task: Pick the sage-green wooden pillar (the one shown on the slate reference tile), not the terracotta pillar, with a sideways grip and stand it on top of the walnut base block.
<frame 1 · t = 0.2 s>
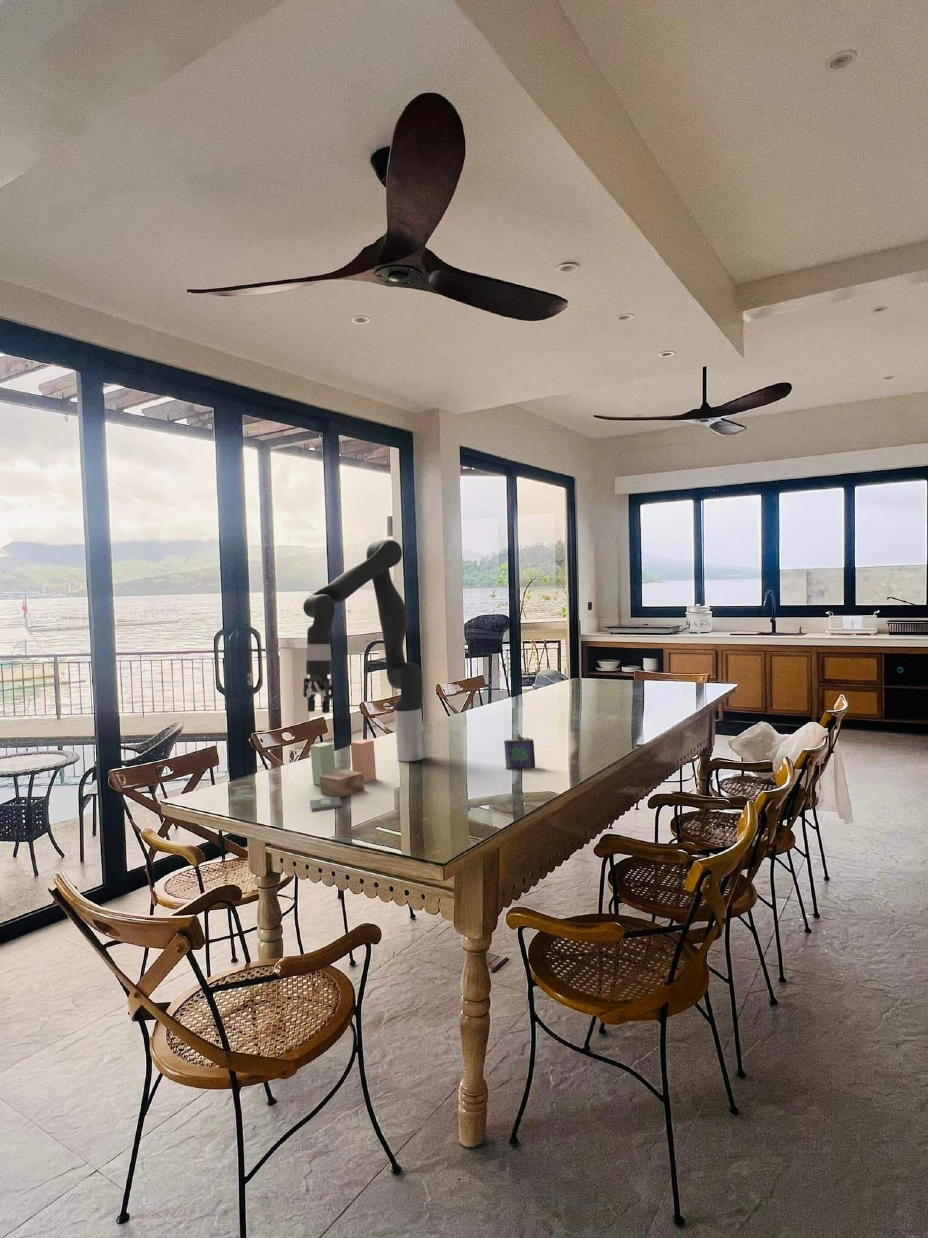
hand: (318, 712, 219), 22 cm above the table, tool pointing down, fingers open, 8 cm apart
reference tile: (325, 805, 196), on the table
sage pillar: (324, 783, 220), on the table
walnut base: (342, 791, 209), on the table
terracotta pillar: (364, 780, 221), on the table
flask: (520, 768, 222), on the table
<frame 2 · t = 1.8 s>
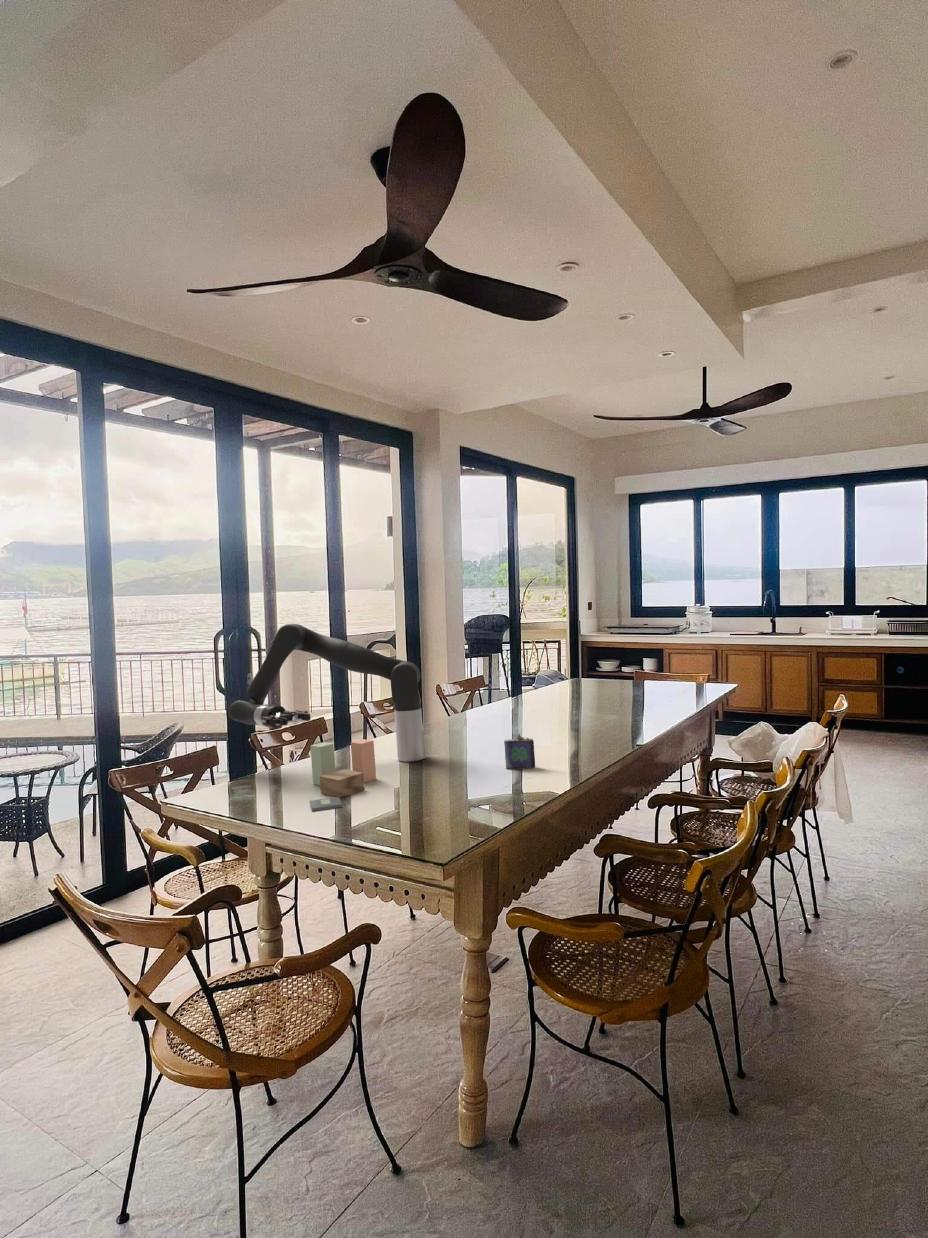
hand: (298, 719, 227), 19 cm above the table, tool horizontal, fingers open, 8 cm apart
nothing on the table moved.
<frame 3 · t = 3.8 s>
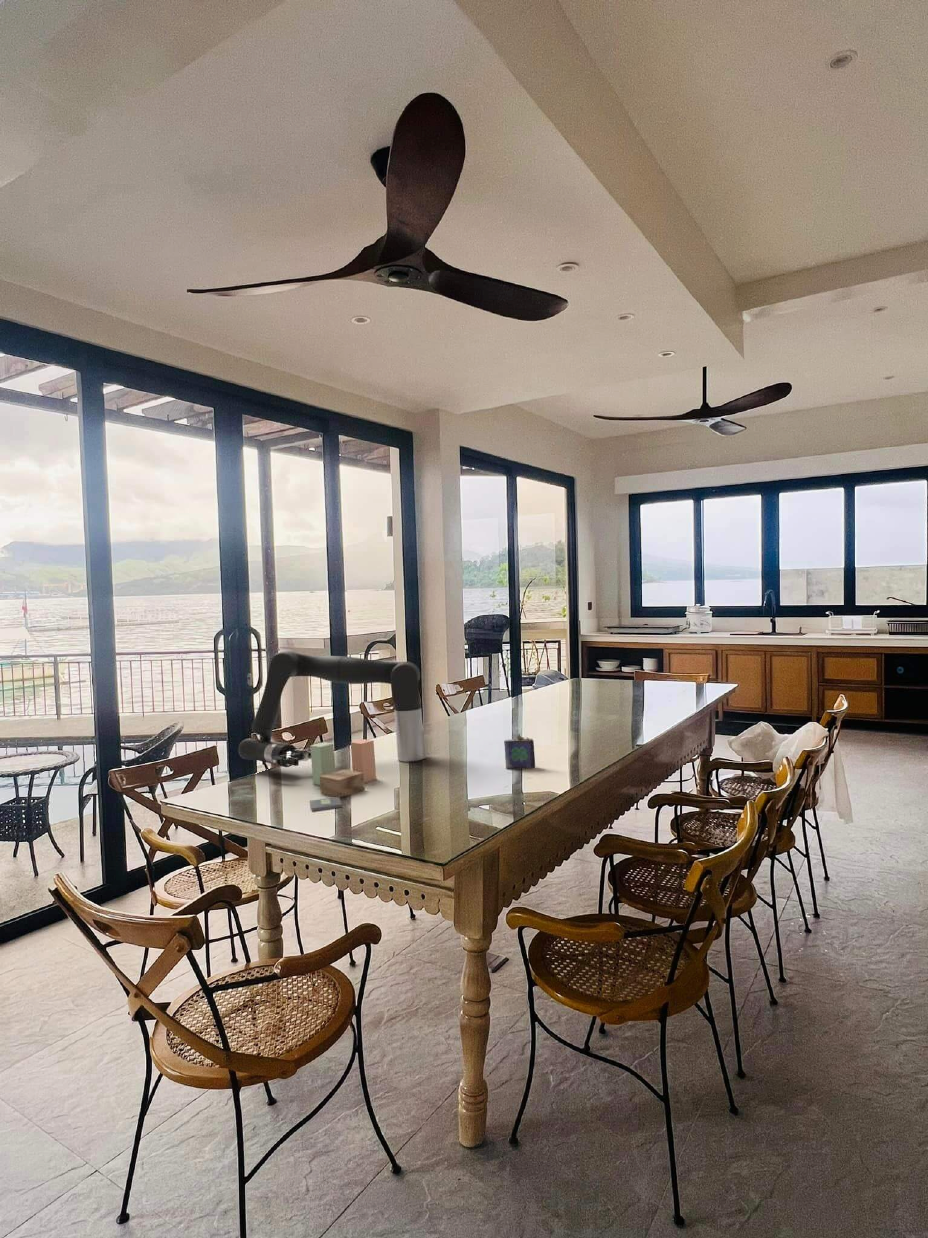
hand: (309, 759, 225), 7 cm above the table, tool horizontal, fingers open, 8 cm apart
nothing on the table moved.
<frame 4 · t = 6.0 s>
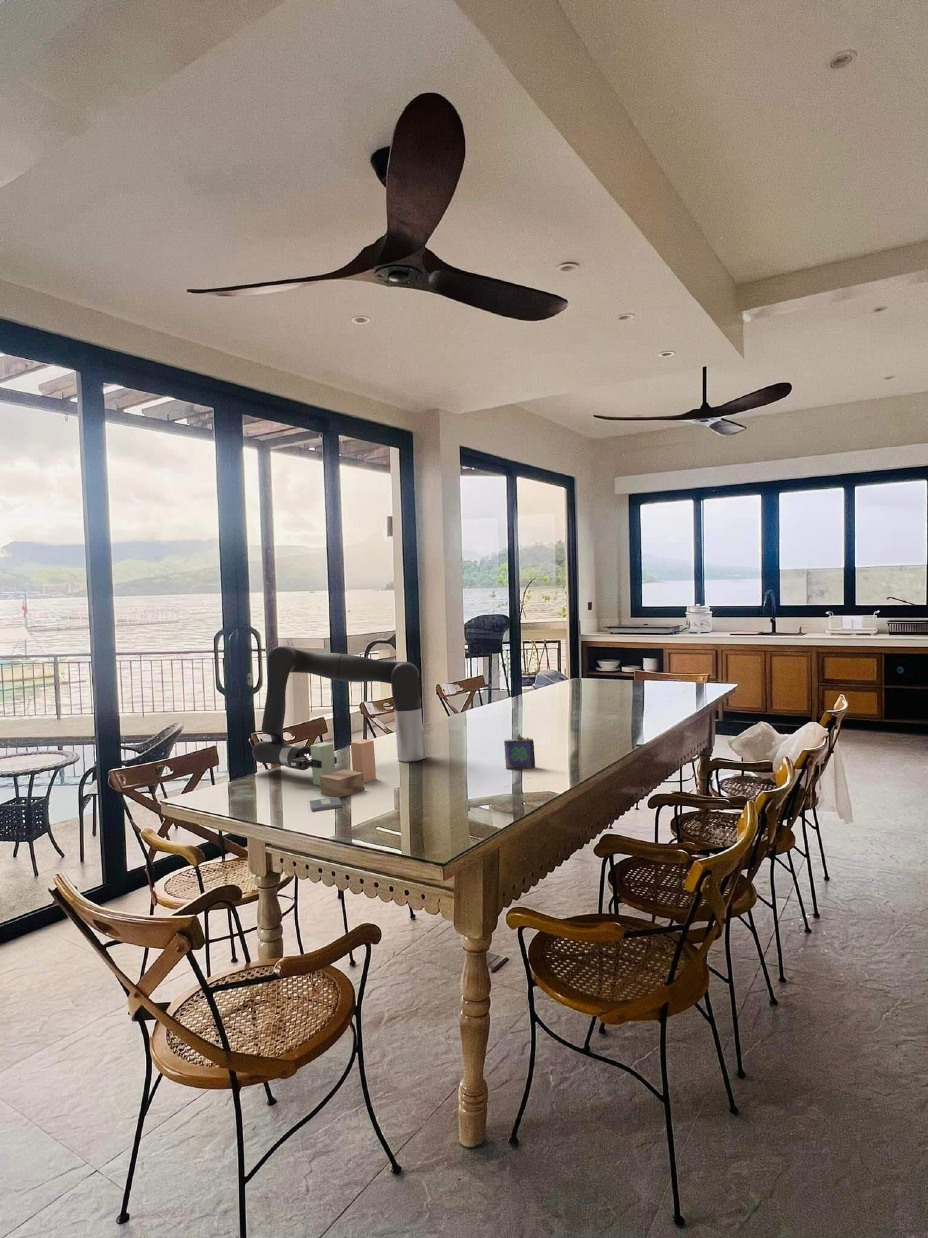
hand: (328, 762, 218), 7 cm above the table, tool horizontal, fingers closed on sage pillar, 5 cm apart
sage pillar: (324, 783, 220), on the table, touching gripper
everything else where it was.
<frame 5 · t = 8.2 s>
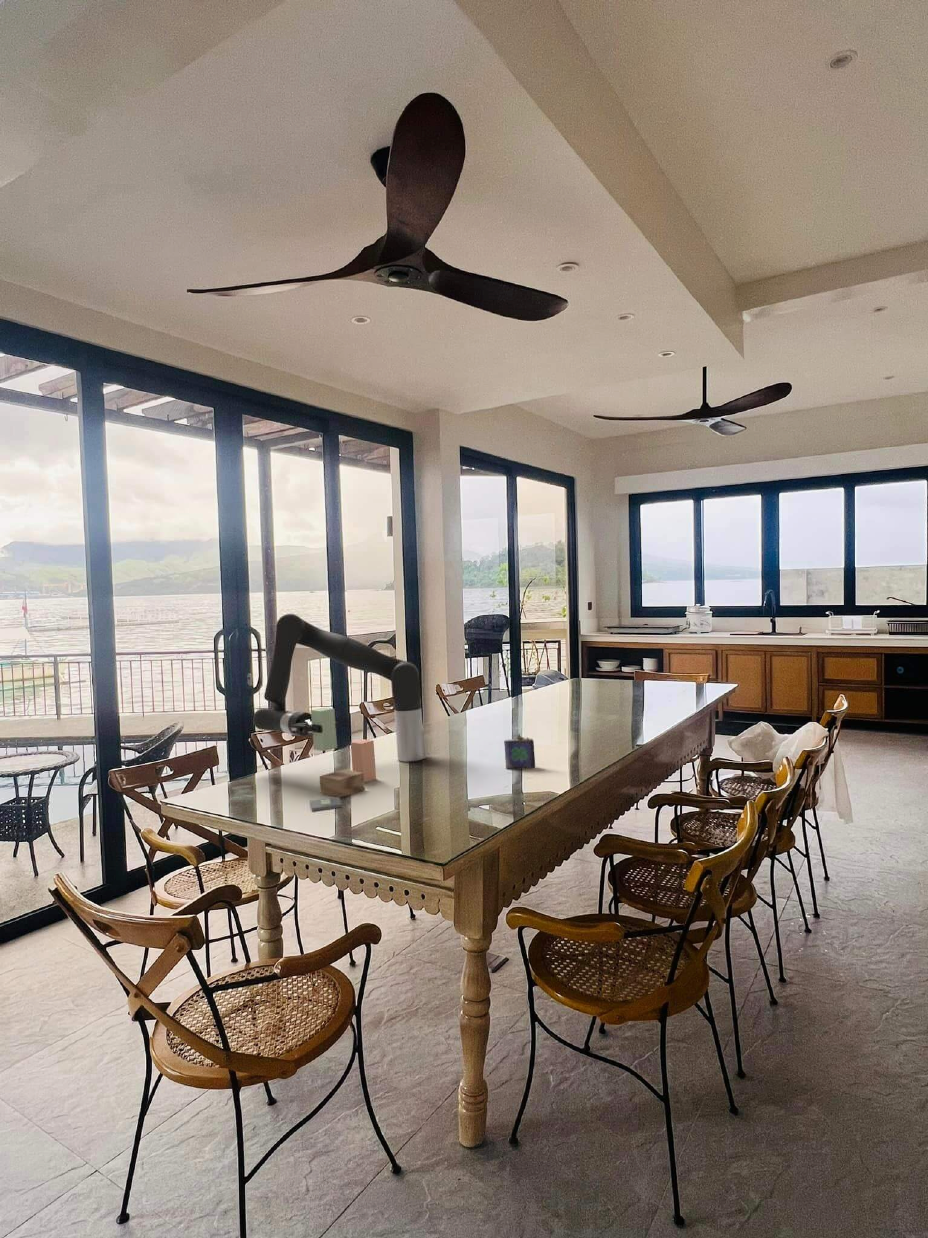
hand: (329, 727, 215), 18 cm above the table, tool horizontal, fingers closed on sage pillar, 5 cm apart
sage pillar: (325, 748, 217), point 11 cm above the table, touching gripper
everything else where it was.
when the fingers open (12 cm above the table, at t = 10.5 s): sage pillar stays where it is, resting on walnut base.
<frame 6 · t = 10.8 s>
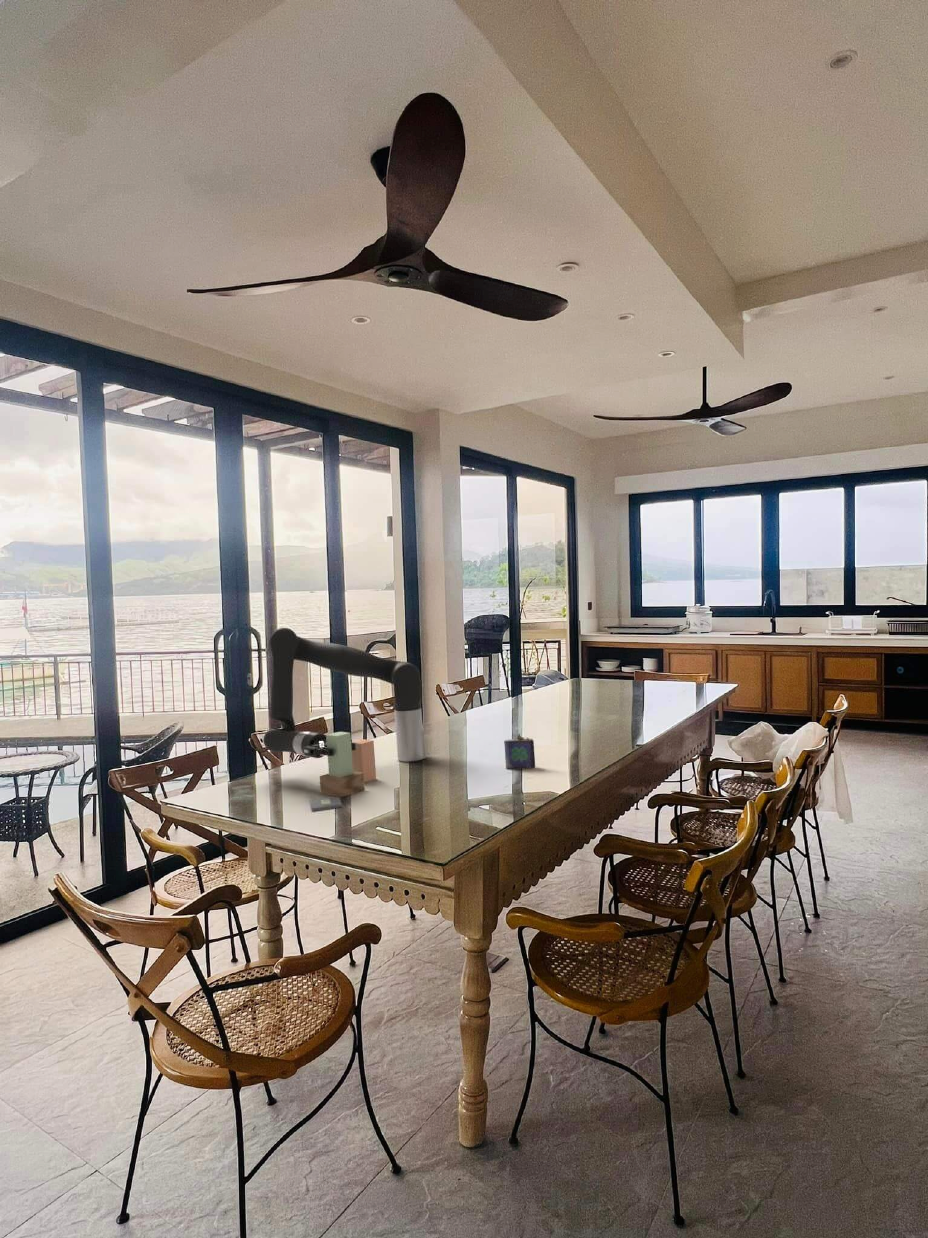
hand: (343, 749, 207), 13 cm above the table, tool horizontal, fingers open, 7 cm apart
sage pillar: (341, 774, 209), point 5 cm above the table, touching walnut base
everything else where it was.
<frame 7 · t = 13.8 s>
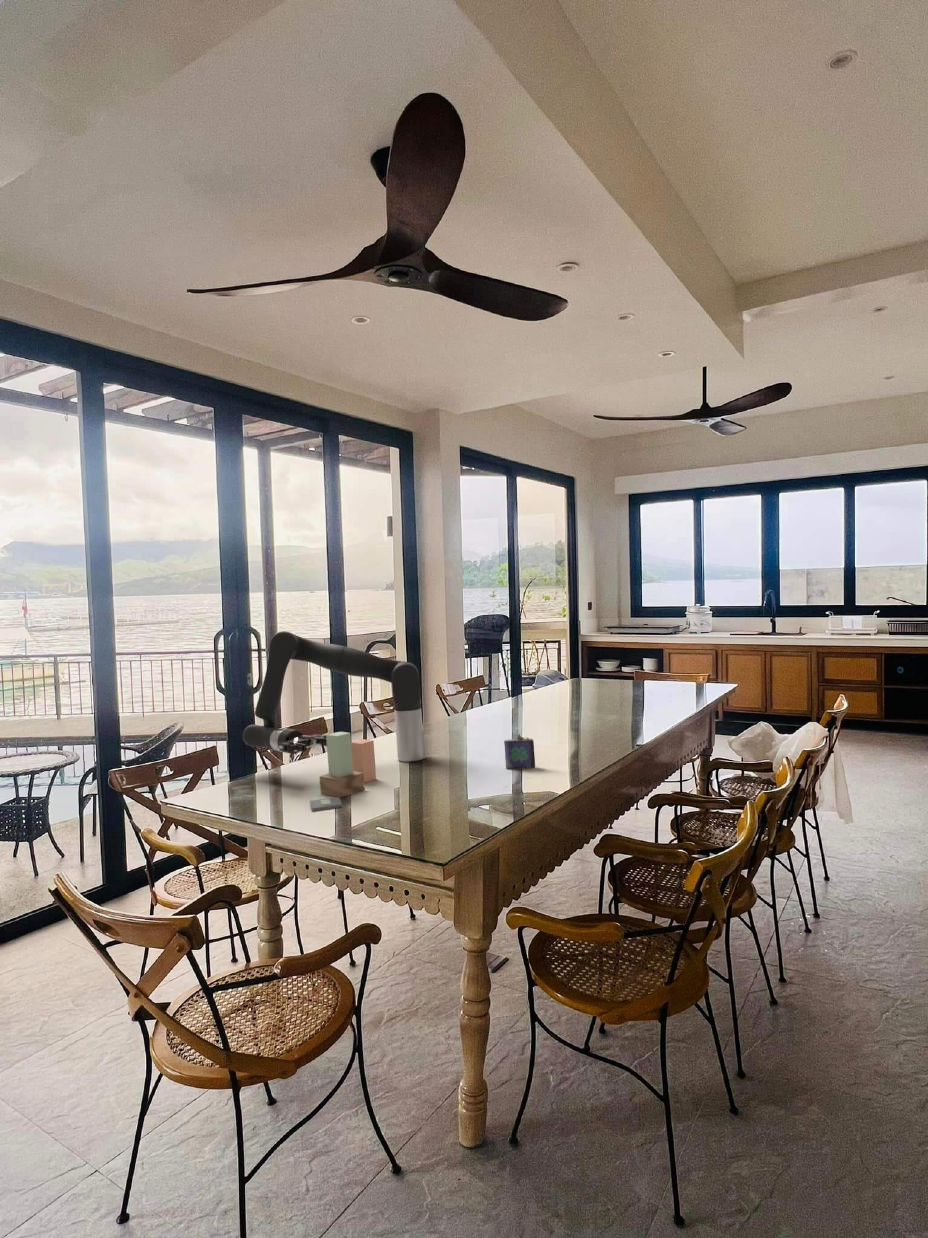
hand: (317, 745, 216), 13 cm above the table, tool horizontal, fingers open, 8 cm apart
nothing on the table moved.
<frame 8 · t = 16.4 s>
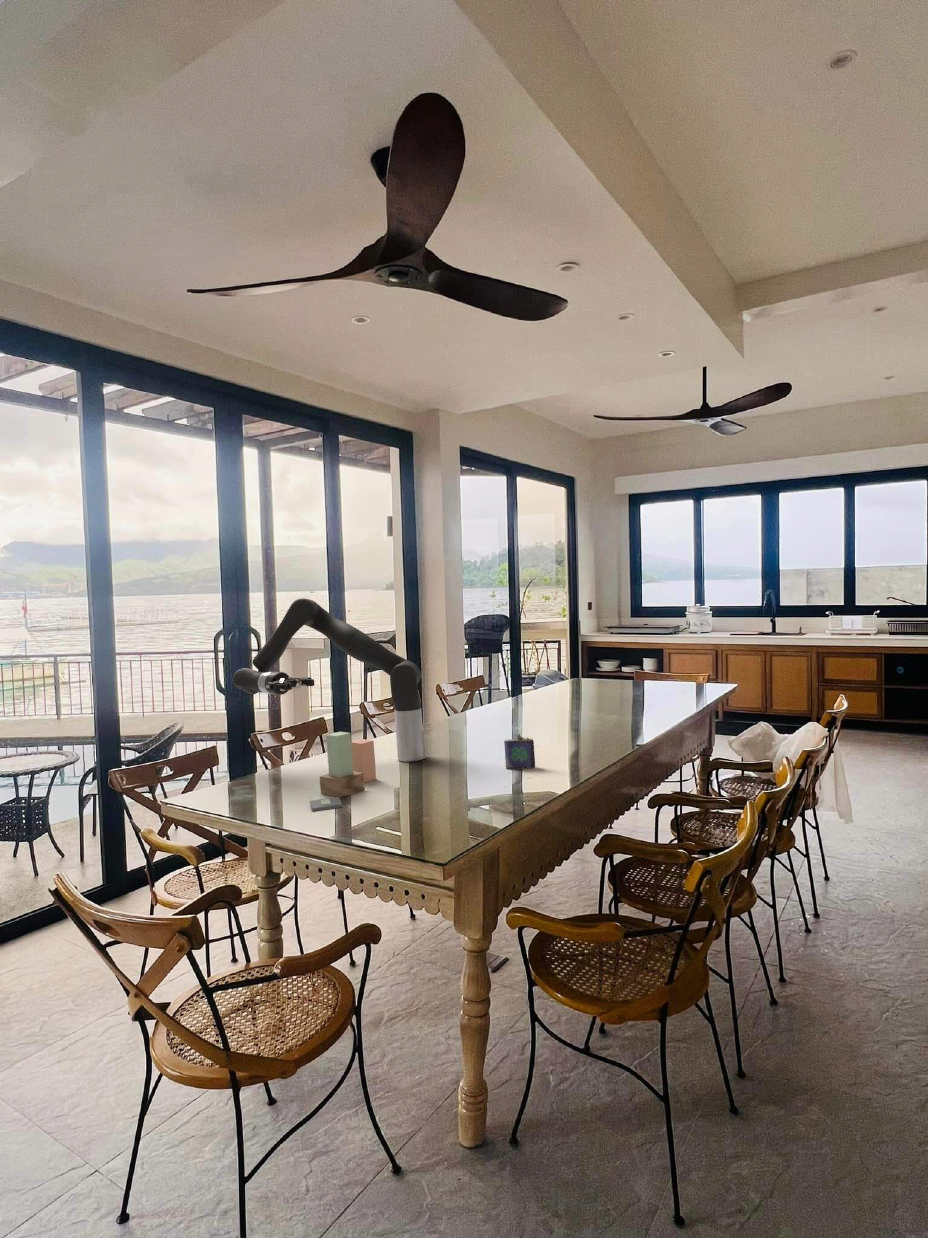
hand: (302, 684, 227), 30 cm above the table, tool horizontal, fingers open, 8 cm apart
nothing on the table moved.
at the end: sage pillar 0.1 cm off-centre on the walnut base, point 5.0 cm above the walnut base's base; sage pillar tilted 0°; terracotta pillar moved 0.0 cm from its start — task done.
